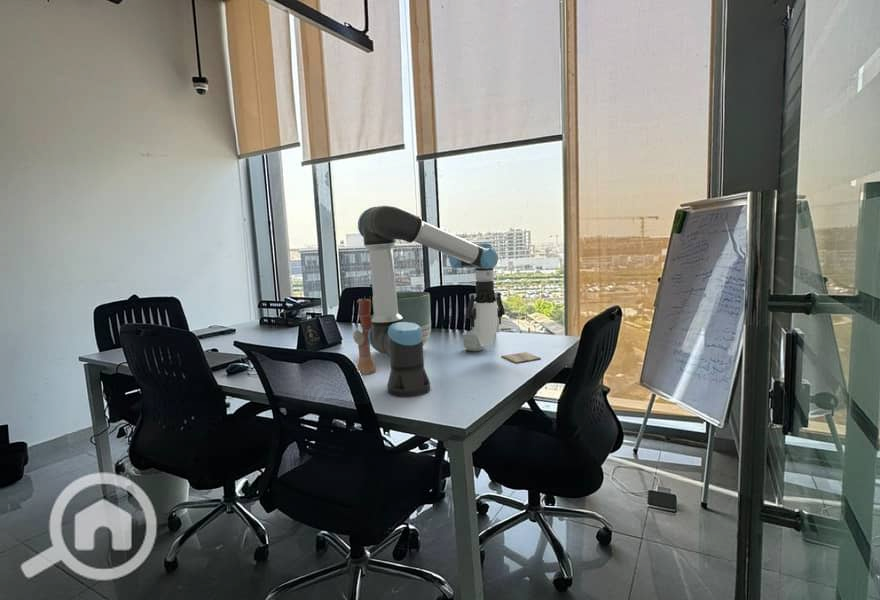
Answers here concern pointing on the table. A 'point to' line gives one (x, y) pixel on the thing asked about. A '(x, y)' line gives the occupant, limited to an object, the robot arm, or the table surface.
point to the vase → (364, 338)
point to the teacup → (471, 342)
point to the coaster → (520, 357)
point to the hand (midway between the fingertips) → (485, 333)
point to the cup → (486, 322)
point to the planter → (415, 310)
